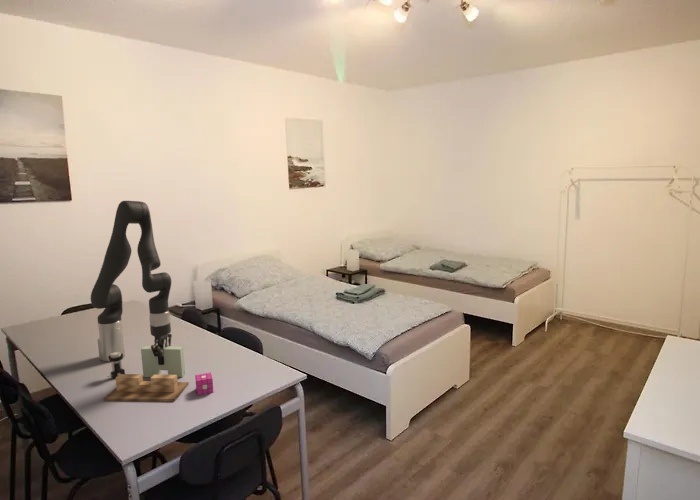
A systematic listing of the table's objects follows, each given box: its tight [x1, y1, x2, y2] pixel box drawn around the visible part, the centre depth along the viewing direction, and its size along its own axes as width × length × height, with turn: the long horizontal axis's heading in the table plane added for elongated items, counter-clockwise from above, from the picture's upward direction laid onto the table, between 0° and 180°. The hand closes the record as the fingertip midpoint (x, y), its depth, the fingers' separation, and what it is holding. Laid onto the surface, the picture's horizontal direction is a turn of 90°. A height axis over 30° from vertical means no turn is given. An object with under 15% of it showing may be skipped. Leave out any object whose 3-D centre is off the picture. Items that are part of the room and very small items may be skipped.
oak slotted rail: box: [103, 373, 189, 402], centre depth 165 cm, size 26×13×6 cm, turn 88°
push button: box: [106, 352, 126, 380], centre depth 177 cm, size 7×5×10 cm
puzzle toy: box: [195, 372, 214, 396], centre depth 166 cm, size 6×6×6 cm
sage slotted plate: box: [140, 345, 186, 378], centre depth 178 cm, size 16×3×12 cm, turn 88°
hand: (163, 362), depth 178 cm, fingers closed on sage slotted plate, 3 cm apart
